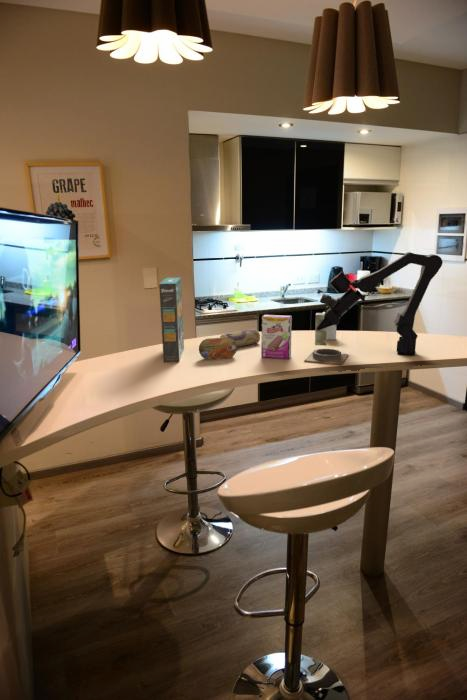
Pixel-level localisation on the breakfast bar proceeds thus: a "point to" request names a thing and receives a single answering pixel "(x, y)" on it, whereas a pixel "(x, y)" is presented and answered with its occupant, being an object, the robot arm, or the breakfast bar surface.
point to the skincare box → (331, 332)
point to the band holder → (326, 357)
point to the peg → (320, 334)
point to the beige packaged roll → (244, 337)
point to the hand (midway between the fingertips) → (317, 328)
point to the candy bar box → (276, 336)
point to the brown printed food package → (217, 348)
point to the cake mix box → (171, 319)
